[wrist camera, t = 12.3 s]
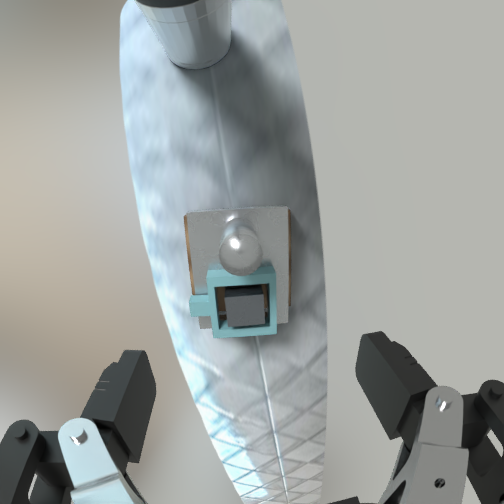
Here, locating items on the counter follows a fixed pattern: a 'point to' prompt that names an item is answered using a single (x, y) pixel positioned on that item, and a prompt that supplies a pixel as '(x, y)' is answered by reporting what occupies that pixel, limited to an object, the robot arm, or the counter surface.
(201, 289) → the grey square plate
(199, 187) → the counter surface
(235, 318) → the brushed steel block
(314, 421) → the counter surface
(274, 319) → the bracket head
